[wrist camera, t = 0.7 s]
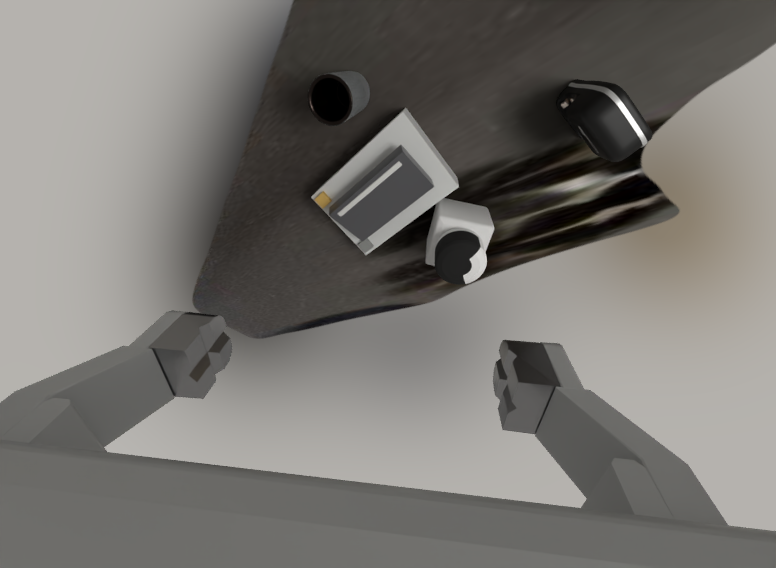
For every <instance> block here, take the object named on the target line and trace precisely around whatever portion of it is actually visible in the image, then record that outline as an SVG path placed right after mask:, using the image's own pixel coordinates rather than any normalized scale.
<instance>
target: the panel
mask: <svg viewBox="0 0 776 568" xmlns="http://www.w3.org/2000/svg"><path fill="white" fill-rule="evenodd" d="M400 145H402V146H403V147H404V148H405V149H406V150H407V152H408V153H409V154H410V155H411V156H412V157H413V158H414V160H415V161H416V162H417V163H418V164H419V165H420V166H421V167H422V169H423V170H424V171H425V172H426V173H427V174H428V175H429V177H430V178H431V179H432V181H433V184H434V187H433V188H432V189H431V190H429V191H428V192H427V193H426V194H424V195H423V196H422V197H420V198H419V199H418V200H416V201H415V202H414V203H413V204H411V205H410V206H409V207H407V208H406V209H405V210H403V211H402V212H401V213H399V214H398V215H397V216H396V217H394V218H393V219H392V220H390V221H389V222H388V223H386V224H385V225H384V226H382V227H381V228H380V229H379V230H377V231H376V232H375V233H373V234H372V235H371V236H369V237H368V238H367V239H366V240H364V241H363V242H362V241H361V240H360V239H358V238H357V237H356V236H354V235H353V234H352V233H351V232H349V231H348V230H347V229H346V228H344V227H343V226H342V225H340V224H339V223H338V222H337V221H335V220H334V219H333V218H331V217H330V216H329V207H330V206H332V205H333V204H334V203H335V202H336V201H337V200H338V199H339V198H341V197H342V196H343V195H344V194H345V193H346V192H347V191H349V190H350V189H351V188H352V187H353V186H354V185H355V184H356V183H358V182H359V181H360V180H361V179H362V178H363V177H364V176H366V175H367V174H368V173H369V172H370V171H371V170H372V169H374V168H375V167H376V166H377V165H378V164H379V163H380V162H381V161H383V160H384V159H385V158H386V157H387V156H388V155H389V154H391V153H392V152H393V151H394V150H395V149H396V148H397V147H399V146H400ZM458 187H459V185H458V179H457V177H456V175H455V174H454V172H453V171H452V170H451V168H450V167H449V166H448V164H447V163H446V162H445V160H444V159H443V158H442V156H441V155H440V153H439V152H438V151H437V149H436V148H435V147H434V145H433V144H432V143H431V141H430V140H429V138H428V137H427V136H426V134H425V133H424V132H423V130H422V129H421V128H420V126H419V125H418V124H417V122H416V121H415V119H414V118H413V117H412V115H411V114H410V113H409V111H408V110H407V109H406V108H404V109H403V110H402V111H401V112H400V113H399V114H398V115H397V116H396V117H395V118H394V119H393V120H392V121H391V122H390V123H388V124H387V125H386V126H385V127H384V128H383V129H382V130H381V131H380V132H379V133H378V134H377V135H376V136H375V137H373V138H372V139H371V140H370V141H369V142H368V143H367V144H366V145H365V146H364V147H363V148H362V149H361V150H360V151H358V152H357V153H356V154H355V155H354V156H353V157H352V158H351V159H350V160H349V161H348V162H347V163H346V164H345V165H344V166H342V167H341V168H340V169H339V170H338V171H337V172H336V173H335V174H334V175H333V176H332V177H331V178H330V179H329V180H327V181H326V182H325V183H324V184H323V185H322V186H321V187H320V188H319V189H318V190H317V191H316V192H315V193H314V194H313V196H312V197H311V198H312V199H313V200H314V201H315V202H316V203H317V204H318V205H319V206H320V207H321V208H322V210H323V211H324V212H325V213H326V214H327V215H328V216H329V217H330V218H331V219H332V220H333V221H334V222H335V223H336V224H337V225H338V226H339V227H340V228H341V229H342V230H343V232H344V233H345V234H346V235H347V236H348V237H349V238H350V239H351V240H352V241H353V242H354V243H355V244H356V245H357V246H358V247H359V248H360V249H361V250H362V251H363V252H364V254H365V255H367V254H368V253H370V252H371V251H372V250H374V249H375V248H377V247H378V246H379V245H381V244H382V243H383V242H385V241H386V240H387V239H389V238H390V237H391V236H393V235H394V234H396V233H397V232H398V231H400V230H401V229H402V228H404V227H405V226H406V225H408V224H409V223H410V222H412V221H413V220H414V219H416V218H417V217H419V216H420V215H421V214H423V213H424V212H425V211H427V210H428V209H429V208H431V207H432V206H433V205H435V204H436V203H438V202H439V201H440V200H442V199H443V198H444V197H446V196H447V195H448V194H450V193H451V192H452V191H454V190H455V189H457V188H458Z"/></svg>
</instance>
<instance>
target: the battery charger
mask: <svg viewBox="0 0 776 568" xmlns="http://www.w3.org/2000/svg"><path fill="white" fill-rule="evenodd" d="M556 105H557V107H558V109H559V111H560V112H561V113H562V115H563V116H564V117H565V119H566V120H567V121H568V123H569V124H570V125H571V127H572V128H573V129H574V131H575V132H576V133H577V135H578V136H579V137H581V138H583V139H584V140H585V142H586V143H587V145H588V146H589V147H590V149H591V150H592V151H593V152H594V153H595V154H596V155H598V156H600V157H602V158H604V159H607V160H609V161H612V162H618V161H621V160H623V159H625V158H626V157H628V156H629V155H631V154H632V153H633V152H635V151H636V150H637V149H639V148H640V147H643V146H645V145H646V144H647V142H648V141H649V140H651V138H652V131H651V130H650V128H649V126H648V125H647V123H646V122H645V120H644V118H643V117H642V115H641V114H640V112H639V111H638V109H637V108H636V106H635V105H634V103H633V102H632V100H631V99H630V97H629V96H628V95H627V93H626V92H625V91H624V90H623V89H622V88H621V87H619V86H618V85H616V84H613V83H608V82H602V81H584V80H578V79H577V80H575V81H573V82H571V83H570V84H569V85H568V87H567V88H566V89H565V90H563V92H562V93H561V94H560V95H559V97H558V99H557V102H556Z"/></svg>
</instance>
